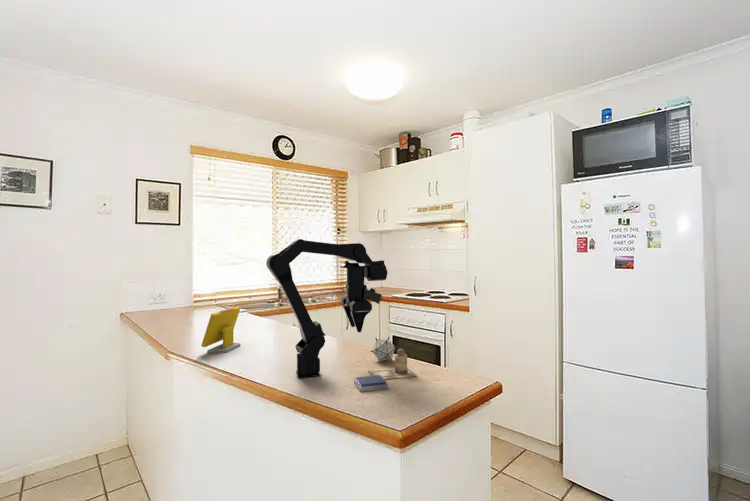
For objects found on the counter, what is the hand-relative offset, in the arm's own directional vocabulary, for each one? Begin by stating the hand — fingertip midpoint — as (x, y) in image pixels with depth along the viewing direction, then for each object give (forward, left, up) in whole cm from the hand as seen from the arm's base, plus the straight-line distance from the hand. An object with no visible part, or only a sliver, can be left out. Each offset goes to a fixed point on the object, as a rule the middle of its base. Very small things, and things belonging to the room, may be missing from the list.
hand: (356, 329), depth 126 cm
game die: (+11, +5, -13) cm, 18 cm away
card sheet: (+9, -10, -12) cm, 18 cm away
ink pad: (0, -18, -12) cm, 22 cm away
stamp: (+12, -10, -12) cm, 20 cm away
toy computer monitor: (-44, +41, -13) cm, 61 cm away
